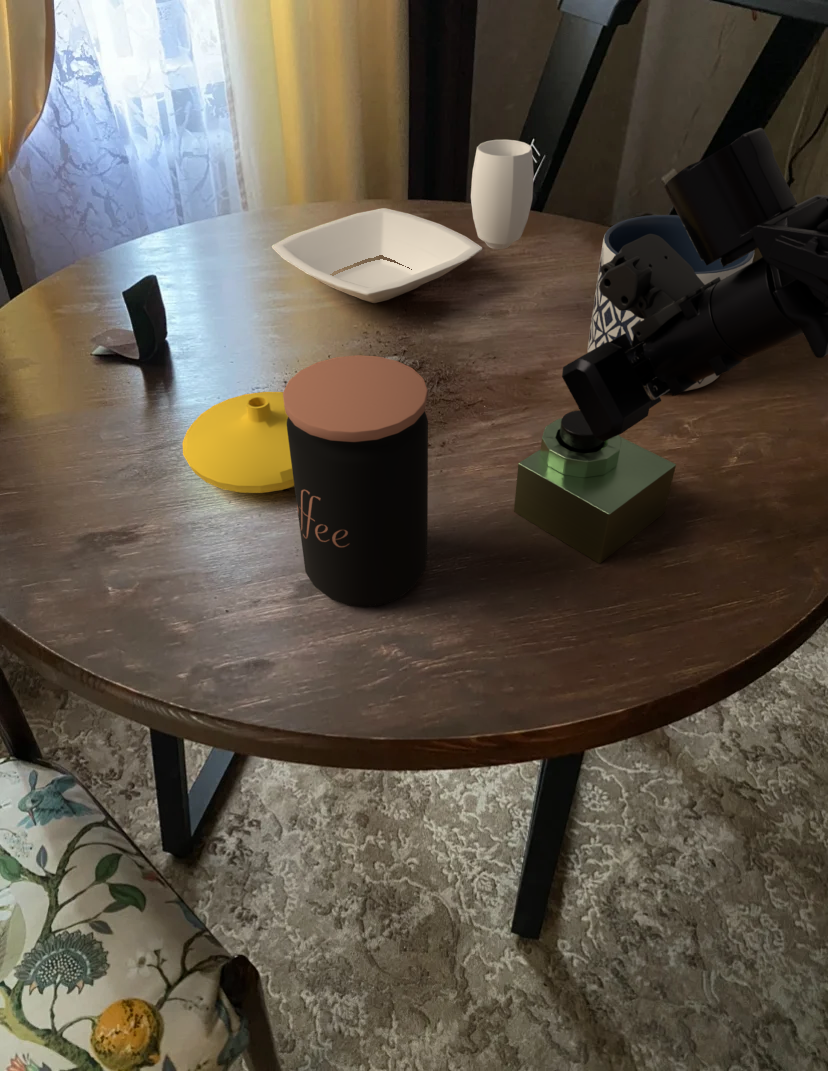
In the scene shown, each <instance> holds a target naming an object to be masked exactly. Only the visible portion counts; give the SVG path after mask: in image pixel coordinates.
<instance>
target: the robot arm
mask: <svg viewBox="0 0 828 1071" xmlns="http://www.w3.org/2000/svg"><path fill="white" fill-rule="evenodd" d="M663 189H664V190H665V193H666V194H667V196H668V198H669V200H670V203H671V204H672V206H673V208H674V209H675V212H676V215H678V216H679V218H680V220H681V222H682V224H683V226H684V227H685V229H686V231H687V233H688V235H689V237H690V239H691V241H692V243H693V245H694V247H695V249H696V251H697V253H698V255H699V257H700V259H701V261H702V260H704V262H705V264H706V266H707V265H709V264H711V263H713V262H715V261H716V260H718V259H720V258H721V260H720V262H721V264H722V266H723V267H725V266H726V265H728V264H730V263H732V262H734V261H736V260H738V259H739V258H741V257H743V256H745V255H746V254H748V253H750V252H752V251H753V250H754V251H755V250H757V249H758V251H759V253H760V255H761V257H760V258H758V259H756V260H753V261H752V263H751V264H749V265H747V266H746V267H744V268H742V269H740V270H739V271H737V272H735V273H733V274H732V275H730V276H728V277H726V278H725V279H723V280H721V279H720V277H718V278H716V279H714V280H713V281H711V282H709V283H707V284H706V285H705V284H704V283H703V282H702V281H701V280H700V279H699V277H698V276H697V275H696V274H695V273H694V270H693V268H692V267H691V266H690V265H689V264H688V263H687V262H686V261H685V260H684V259H683V258H682V257H681V256H680V255H679V254H678V253H677V252H676V251H675V250H674V249H673V248H672V247H671V246H670V245H669V244H668V243H667V242H665V241H664V240H663V239H662V238H661V237H659V236H657V235H654V234H648V235H645V236H643V237H641V238H639V239H637V240H635V241H633V242H631V243H628V244H626V245H624V246H623V247H622V248H621V250H620V252H619V253H618V254H617V255H615V256H614V258H613V259H612V260H611V261H610V262H608V263H606V264H604V265H602V267H601V273H602V275H603V278H602V280H601V281H600V291H601V292H602V294H603V295H604V296H605V297H606V298H607V299H608V300H609V301H610V302H611V303H612V304H613V305H614V306H615V307H616V308H617V309H618V310H620V311H626V310H628V309H629V310H630V311H631V312H632V313H633V314H634V315H635V316H637V317H639V318H642V319H644V320H643V321H641V322H639V323H637V324H636V325H634V326H632V329H633V331H634V336H633V340H632V344H631V343H630V341H629V339H628V337H627V335H626V334H623V335H621V336H619V337H617V338H616V339H614V340H612V341H610V342H606V343H604V344H603V345H601V346H599V347H597V348H595V349H594V350H592V351H590V352H588V351H587V353H584V354H583V355H582V356H580V357H578V358H576V359H574V360H572V361H570V362H569V363H567V364H565V365H563V366H562V371H561V372H562V373H561V378H562V380H563V381H564V383H565V385H566V387H567V389H568V391H569V392H570V394H571V396H572V398H573V400H574V402H575V403H576V405H577V407H578V410H580V411H581V413H582V414H583V416H584V418H585V420H586V422H587V424H588V425H589V427H590V429H591V431H592V433H593V435H594V436H595V438H597V439H599V440H601V441H606V440H608V439H610V438H613V437H615V436H617V435H620V436H621V435H622V434H623V433H625V432H626V431H628V430H629V429H631V428H633V427H634V426H635V425H637V424H638V423H639V422H641V421H643V420H644V419H645V418H647V417H649V414H650V409H651V408H653V407H654V406H656V405H657V404H659V403H660V402H662V399H661V396H663V395H671V396H673V397H674V396H676V395H679V394H681V393H683V392H686V391H685V390H686V389H688V388H689V387H691V386H692V385H694V384H695V383H697V381H699V380H702V379H704V378H706V377H708V376H710V375H712V374H716V376H718V375H719V376H721V375H723V374H725V373H728V372H729V371H731V370H732V369H734V368H735V367H737V366H739V364H741V363H743V362H744V361H745V360H747V359H749V358H752V357H754V356H756V355H758V354H761V353H762V352H765V351H767V350H769V349H772V348H773V347H775V346H778V345H780V344H782V343H784V342H786V341H789V340H791V339H793V338H795V337H797V336H800V335H802V334H803V336H804V338H805V341H806V342H807V344H808V347H809V348H810V349H811V352H812V354H813V355H814V357H815V358H817V359H823V358H824V357H826V356H828V195H826V194H816V195H814V196H812V197H809V198H808V199H806V200H804V201H802V202H800V203H798V202H797V200H796V199H795V196H794V194H793V193H792V190H791V188H790V185H789V184H788V182H787V180H786V178H785V176H784V175H783V172H782V170H781V168H780V167H779V164H778V161H777V160H776V157H775V155H774V149H773V146H772V143H771V141H770V139H769V137H768V135H767V133H766V130H765V129H764V128H763V127H758V128H755V129H753V130H750V131H748V132H746V133H743V134H742V135H741V136H739V137H738V138H736V139H735V140H734V141H732V142H731V143H729V144H727V145H725V146H724V147H722V148H720V149H718V150H716V151H715V152H713V153H712V154H710V155H708V156H707V157H704V159H700V160H699V161H696V162H694V163H691V164H689V165H686V167H684V168H683V169H682V170H680V171H678V172H677V173H676V174H675V175H674V176H673V177H671V178H670V179H669V180H668V181H667V182H665V184H664V186H663Z"/></svg>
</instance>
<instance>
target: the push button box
mask: <svg viewBox="0 0 828 1071" xmlns="http://www.w3.org/2000/svg"><path fill="white" fill-rule="evenodd" d="M562 418H563V417H561V418H557V419H555V420H554V421H553V422H551V423H549V424H547V425H546V426H545V427H544V429H543V433H542V436H541V443H540V449H538V450H537V451H535V452H534V453H532V454H531V455H529V456H527V457H526V458H524V459H523V460H521V461H520V462H518V464H517V474H516V485H515V494H514V495H515V496H514V506H513V512H514V513H515V514H516V515H518V516H520V517H522V518H523V519H525V520H527V521H528V522H530V523H531V524H534V525H535V526H537V527H539V528H540V529H541V530H543V531H545V532H546V533H548V534H550V535H551V536H553V537H555V538H556V539H558V540H560V541H562V542H563V543H565V544H566V545H568V546H570V547H571V548H573V549H574V550H576V551H578V552H580V553H581V554H583V555H585V556H586V557H588V558H589V559H590V560H593V561H594V562H596V563H597V564H599V565H600V564H601V563H604V561H606V560H607V559H608V558H610V556H612V555H613V554H614V553H616V552H617V551H618V550H619V549H621V548H622V547H623V546H624V545H626V544H627V543H629V542H630V541H631V540H632V539H633V538H634V537H636V536H637V535H638V534H640V533H641V532H643V531H644V530H645V529H647V527H649V526H650V525H651V524H652V523H653V522H656V520H658V519H659V518H660V517H661V516H663V515H664V514H665V512H666V509H667V504H668V499H669V496H670V493H671V487H672V485H673V484H672V483H673V479H674V476H675V472H676V467H677V464H676V463H674V462H673V461H670V460H668V459H667V458H664V457H662V456H661V455H658V454H657V453H654V452H652V451H650V450H649V449H646V448H644V447H642V446H641V445H639V444H636V443H634V442H632V441H630V440H628V439H626V438H624V437H622V436H621V434H620V435H617V436H615V437H613V438H610V439H608V440H606V441H604V446H603V447H602V448H601V449H600V450H599V451H597V452H592V453H579V452H573V451H570V450H568V449H566V448H564V447H563V446H562V445H561V444H560V442H559V435H560V427H561V420H562Z"/></svg>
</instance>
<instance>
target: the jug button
mask: <svg viewBox="0 0 828 1071" xmlns="http://www.w3.org/2000/svg"><path fill="white" fill-rule="evenodd" d="M561 418H562V420H561V427H560V435H559V442H560V444H561V445H562V446H563V447H564V448H566V449H568V450H570V451H573V452H579V453H592V452H597V451H599V450H600V449H601V448H602V447H603V446H604V441H601V440H599V439H597V438H595V436H594V435H593V433H592V431H591V429H590V427H589V425H588V424H587V422H586V420H585V418H584V416H583V414H582V413H581V411H580V409H578V410H573V411H569V412H567V413H566V414H564V415H563V416H562V417H561Z"/></svg>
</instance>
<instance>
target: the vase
mask: <svg viewBox="0 0 828 1071" xmlns="http://www.w3.org/2000/svg"><path fill="white" fill-rule="evenodd" d="M283 392H284V391H259V392H251V393H245V394H242V395H237V396H233V397H231V398H227V399H225V400H223V401H221V402H219V403H216V404H214V405H212V406H211V407H209V408H208V409H206V410H204V411H203V412H202V413H201V414H200V415H198V416H197V417H196V419H195V420H194V421H193V422H192V423H191V424H190V426H189V428H188V429H187V430H186V432H185V435H184V438H183V440H182V442H181V443H182V445H181V446H182V455H183V457H184V459H185V460H186V462H187V464H188V465H189V468H190V469H191V470H192V472H193V473H194V474H195V475H196V476H197V477H199V479H201V480H202V481H204V482H205V483H206V484H209V485H211V486H214V487H216V488H218V489H220V490H225V491H230V492H235V493H242V494H263V493H271V492H277V491H284V490H286V489H290V488H294V479H293V471H292V463H291V456H290V448H289V440H288V432H287V419H288V416H287V414H286V411H285V407H284V399H283Z"/></svg>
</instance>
